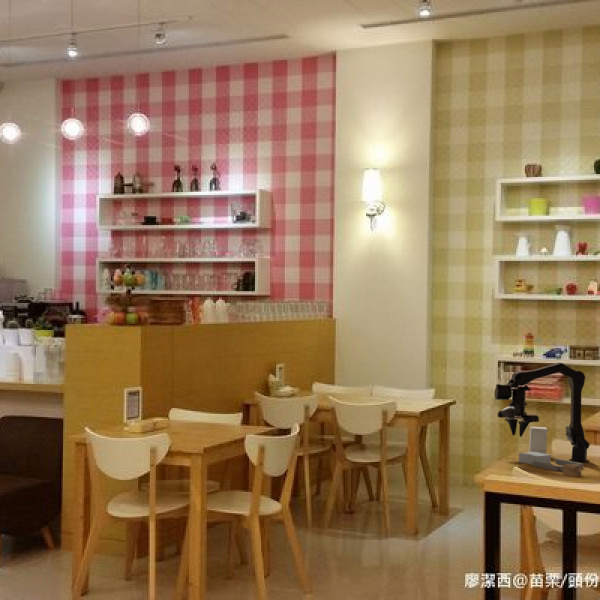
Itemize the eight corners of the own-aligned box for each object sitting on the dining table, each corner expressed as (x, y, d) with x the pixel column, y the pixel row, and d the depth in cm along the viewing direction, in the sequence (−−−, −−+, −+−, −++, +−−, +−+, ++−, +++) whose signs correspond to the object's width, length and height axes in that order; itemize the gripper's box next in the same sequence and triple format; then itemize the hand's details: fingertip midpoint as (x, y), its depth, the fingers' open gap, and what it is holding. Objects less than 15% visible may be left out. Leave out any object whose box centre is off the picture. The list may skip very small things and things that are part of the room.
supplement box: (546, 457, 406) (547, 429, 406) (529, 456, 407) (530, 428, 407) (545, 454, 413) (546, 427, 413) (528, 453, 415) (529, 425, 415)
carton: (533, 460, 397) (533, 451, 397) (550, 464, 390) (550, 454, 390) (518, 462, 391) (518, 453, 391) (535, 466, 384) (536, 456, 384)
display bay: (557, 463, 391) (557, 458, 391) (582, 468, 380) (583, 463, 380) (532, 466, 381) (532, 461, 381) (558, 471, 370) (558, 466, 370)
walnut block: (570, 473, 368) (570, 463, 368) (581, 475, 364) (581, 465, 364) (562, 474, 365) (563, 464, 365) (573, 476, 361) (573, 466, 361)
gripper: (489, 398, 401) (488, 433, 401) (523, 403, 386) (521, 440, 386) (506, 397, 408) (505, 432, 408) (540, 402, 393) (538, 438, 393)
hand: (517, 435), depth 398 cm, fingers open, 4 cm apart
